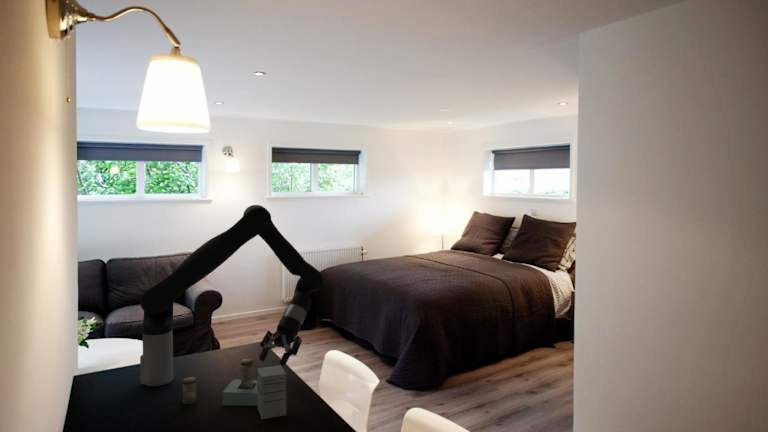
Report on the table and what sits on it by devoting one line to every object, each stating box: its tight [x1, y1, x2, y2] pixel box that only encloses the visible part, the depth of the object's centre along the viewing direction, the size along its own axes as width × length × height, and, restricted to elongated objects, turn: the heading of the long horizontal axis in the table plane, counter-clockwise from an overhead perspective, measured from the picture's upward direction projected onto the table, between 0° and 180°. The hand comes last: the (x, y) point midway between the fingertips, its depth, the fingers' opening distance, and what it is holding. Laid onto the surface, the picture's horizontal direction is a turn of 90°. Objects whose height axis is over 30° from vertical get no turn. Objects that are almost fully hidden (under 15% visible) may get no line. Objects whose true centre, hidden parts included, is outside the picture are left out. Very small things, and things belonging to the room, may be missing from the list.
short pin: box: [182, 376, 197, 405], centre depth 149 cm, size 4×4×7 cm
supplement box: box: [256, 364, 287, 420], centre depth 142 cm, size 7×7×13 cm
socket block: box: [222, 378, 257, 407], centre depth 151 cm, size 12×10×4 cm
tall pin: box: [240, 358, 254, 389], centre depth 151 cm, size 4×4×12 cm
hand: (271, 362), depth 161 cm, fingers open, 8 cm apart
